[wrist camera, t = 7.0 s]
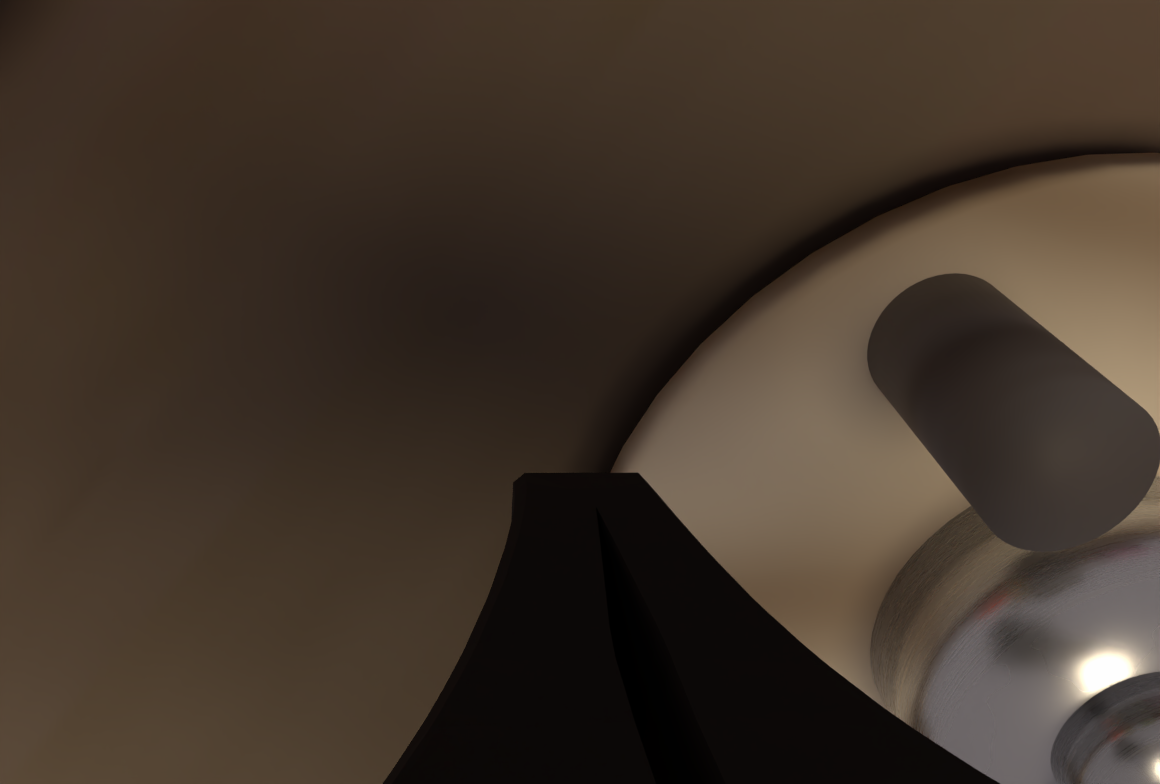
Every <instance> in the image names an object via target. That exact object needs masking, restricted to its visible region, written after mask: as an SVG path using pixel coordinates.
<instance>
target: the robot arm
mask: <svg viewBox="0 0 1160 784" xmlns="http://www.w3.org/2000/svg"><path fill="white" fill-rule="evenodd" d="M383 784H1000V783H999V782H997V781H995V780H993V779H992V778H990V777H988V776H987V775H985V774H983V773H982V772H980V771H978V770H977V769H975V768H974V767H972V766H970V765H969V764H967V763H966V762H964V761H963V760H961V759H960V758H958V757H957V756H955V755H954V754H952V753H950V752H949V751H947V750H946V749H944V748H943V747H941V746H940V745H938V744H937V743H935V742H933V741H932V740H930V739H929V738H927V737H926V736H924V735H923V734H921V733H920V732H918V731H916V730H915V729H913V728H912V727H911V726H909V725H908V724H906V723H905V722H903V721H902V720H901V719H899V718H898V717H896V716H895V715H893V714H892V713H891V712H889V711H888V710H886V709H885V708H884V707H882V706H881V705H879V704H878V703H877V702H876V701H874V700H873V699H872V698H870V697H869V696H868V695H866V694H865V693H864V692H862V691H861V690H860V689H859V688H857V687H856V686H855V685H853V684H852V683H851V682H849V681H848V680H847V679H846V678H844V677H843V676H842V675H840V674H839V673H838V672H836V671H835V670H834V669H833V668H831V667H830V666H829V665H827V664H826V663H825V662H824V661H823V660H821V659H820V658H819V657H818V656H817V655H815V654H814V653H813V652H812V651H811V650H809V649H808V648H807V647H806V646H805V645H804V644H802V643H801V642H800V641H799V640H798V639H797V638H796V637H795V636H793V635H792V634H791V633H790V632H789V631H788V630H787V629H786V628H785V627H784V626H782V625H781V624H780V623H779V622H778V621H777V620H776V619H775V618H774V617H773V616H771V615H770V614H769V613H768V612H767V611H766V610H765V609H764V608H763V607H762V606H761V605H760V604H759V603H758V602H756V601H755V600H754V599H753V598H752V597H751V596H750V595H749V594H748V593H747V592H746V591H745V589H744V588H743V587H742V586H741V585H740V584H739V583H738V582H737V581H736V580H735V579H734V578H733V577H732V576H731V575H730V574H729V573H728V572H727V571H726V570H725V569H724V568H723V567H722V566H721V565H720V564H719V563H718V562H717V561H716V559H715V558H714V557H713V556H712V555H711V554H710V553H709V552H708V551H707V550H706V549H705V548H704V546H703V545H702V544H701V543H700V542H699V541H698V540H697V539H696V538H695V536H694V535H693V534H692V533H691V532H690V531H689V530H688V529H687V527H686V526H685V525H684V524H683V523H682V522H681V521H680V519H679V518H678V517H677V516H676V515H675V514H674V513H673V511H672V510H671V509H670V508H669V507H668V506H667V504H666V503H665V502H664V501H663V500H662V499H661V497H660V496H659V495H658V494H657V493H656V492H655V490H654V489H653V488H652V487H651V486H650V485H649V484H648V482H647V481H646V480H645V479H644V478H643V477H642V476H641V475H640V474H639V473H638V472H636V473H524V474H523V475H522V476H521V477H519V478H518V479H517V480H516V481H515V482H513V500H512V522H511V526H510V530H509V534H508V538H507V542H506V546H505V549H504V552H503V555H502V558H501V561H500V564H499V567H498V570H497V573H496V576H495V578H494V581H493V584H492V587H491V590H490V592H489V595H488V597H487V600H486V602H485V605H484V607H483V609H482V611H481V613H480V616H479V618H478V620H477V622H476V625H475V627H474V629H473V631H472V633H471V636H470V638H469V640H468V642H467V644H466V647H465V649H464V651H463V653H462V655H461V657H460V659H459V661H458V663H457V665H456V666H455V668H454V670H453V672H452V674H451V676H450V678H449V680H448V681H447V683H446V685H445V687H444V689H443V690H442V692H441V694H440V696H439V697H438V699H437V701H436V702H435V704H434V706H433V708H432V709H431V711H430V713H429V714H428V716H427V718H426V719H425V721H424V723H423V724H422V726H421V727H420V729H419V730H418V732H417V733H416V735H415V737H414V738H413V740H412V741H411V743H410V744H409V746H408V747H407V749H406V750H405V752H404V753H403V755H402V756H401V758H400V759H399V761H398V762H397V764H396V765H395V767H394V768H393V770H392V771H391V773H390V774H389V776H388V777H387V778H386V780H385V781H384V783H383Z"/></svg>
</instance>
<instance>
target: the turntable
mask: <svg viewBox="0 0 1160 784" xmlns="http://www.w3.org/2000/svg"><path fill="white" fill-rule="evenodd" d="M636 472H638V473H639V474H640V475H641V476H642V477H643V478H644V479H645V480H646V481H647V482H648V484H649V485H650V486H651V487H652V488H653V489H654V490H655V492H656V493H657V494H658V495H659V496H660V497H661V499H662V500H663V501H664V502H665V503H666V504H667V506H668V507H669V508H670V509H671V510H672V511H673V513H674V514H675V515H676V516H677V517H678V518H679V519H680V521H681V522H682V523H683V524H684V525H685V526H686V527H687V529H688V530H689V531H690V532H691V533H692V534H693V535H694V536H695V538H696V539H697V540H698V541H699V542H700V543H701V544H702V545H703V546H704V548H705V549H706V550H707V551H708V552H709V553H710V554H711V555H712V556H713V557H714V558H715V559H716V561H717V562H718V563H719V564H720V565H721V566H722V567H723V568H724V569H725V570H726V571H727V572H728V573H729V574H730V575H731V576H732V577H733V578H734V579H735V580H736V581H737V582H738V583H739V584H740V585H741V586H742V587H743V588H744V589H745V591H746V592H747V593H748V594H749V595H750V596H751V597H752V598H753V599H754V600H755V601H756V602H758V603H759V604H760V605H761V606H762V607H763V608H764V609H765V610H766V611H767V612H768V613H769V614H770V615H771V616H773V617H774V618H775V619H776V620H777V621H778V622H779V623H780V624H781V625H782V626H784V627H785V628H786V629H787V630H788V631H789V632H790V633H791V634H792V635H793V636H795V637H796V638H797V639H798V640H799V641H800V642H801V643H802V644H804V645H805V646H806V647H807V648H808V649H809V650H811V651H812V652H813V653H814V654H815V655H817V656H818V657H819V658H820V659H821V660H823V661H824V662H825V663H826V664H827V665H829V666H830V667H831V668H833V669H834V670H835V671H836V672H838V673H839V674H840V675H842V676H843V677H844V678H846V679H847V680H848V681H849V682H851V683H852V684H853V685H855V686H856V687H857V688H859V689H860V690H861V691H862V692H864V693H865V694H866V695H868V696H869V697H870V698H872V699H873V700H874V701H876V702H877V703H878V704H879V705H881V706H882V707H884V708H885V709H886V707H885V705H884V703H883V701H882V699H881V697H880V695H879V692H878V690H877V688H876V686H875V683H874V679H873V675H872V670H871V662H870V645H871V637H872V630H873V626H874V623H875V619H876V616H877V612H878V610H879V608H880V605H881V603H882V601H883V599H884V596H885V594H886V592H887V591H888V589H889V587H890V586H891V584H892V582H893V581H894V579H895V577H896V576H897V574H898V573H899V571H900V570H901V569H902V568H903V566H904V565H905V564H906V562H907V561H908V560H909V559H910V557H911V556H912V555H913V554H914V553H915V552H916V551H917V550H918V549H919V548H920V547H921V546H922V544H923V543H924V542H925V541H926V540H927V539H928V538H929V537H930V536H932V535H933V534H934V533H935V532H936V531H938V530H939V529H940V528H941V527H942V526H944V525H945V524H946V523H947V522H948V521H950V520H951V519H953V518H954V517H955V516H957V515H958V514H960V513H961V512H963V511H964V510H966V509H967V508H969V507H970V506H972V507H973V509H974V510H975V511H976V512H977V514H978V515H979V516H980V517H981V519H982V520H983V521H984V522H985V524H986V525H987V526H988V528H989V529H990V530H991V531H992V532H993V533H994V534H995V535H996V536H997V537H998V538H999V539H1001V540H1002V541H1004V542H1005V543H1007V544H1009V545H1011V546H1013V547H1016V548H1020V549H1023V550H1029V551H1037V552H1048V551H1058V550H1064V549H1069V548H1072V547H1076V546H1079V545H1081V544H1084V543H1087V542H1089V541H1091V540H1093V539H1095V538H1097V537H1099V536H1101V535H1103V534H1104V533H1106V532H1108V531H1109V530H1111V529H1112V528H1114V527H1115V526H1116V525H1118V524H1119V523H1120V522H1122V521H1123V520H1124V519H1125V518H1126V517H1127V516H1128V515H1129V514H1130V513H1131V512H1132V511H1133V510H1134V509H1135V508H1136V507H1137V506H1138V505H1139V503H1140V502H1141V501H1142V500H1143V498H1144V497H1145V496H1146V494H1147V492H1148V491H1149V489H1150V487H1151V486H1152V483H1153V481H1154V479H1155V477H1156V476H1159V477H1160V153H1125V154H1093V155H1082V156H1076V157H1070V158H1064V159H1058V160H1052V161H1046V162H1040V163H1034V164H1027V165H1021V166H1016V167H1012V168H1009V169H1006V170H1002V171H999V172H995V173H992V174H989V175H985V176H982V177H978V178H975V179H972V180H968V181H965V182H961V183H958V184H954V185H951V186H948V187H945V188H942V189H940V190H938V191H935V192H933V193H931V194H928V195H926V196H924V197H921V198H919V199H916V200H914V201H912V202H909V203H907V204H905V205H902V206H900V207H898V208H895V209H893V210H891V211H888V212H886V213H884V214H881V215H879V216H877V217H875V218H873V219H871V220H870V221H868V222H866V223H864V224H862V225H861V226H859V227H857V228H855V229H854V230H852V231H850V232H848V233H847V234H845V235H843V236H841V237H840V238H838V239H836V240H834V241H832V242H831V243H829V244H827V245H825V246H824V247H822V248H820V249H818V250H817V251H815V252H813V253H811V254H810V255H809V256H807V257H806V258H805V259H803V260H802V261H800V262H799V263H798V264H796V265H795V266H794V267H792V268H791V269H789V270H788V271H787V272H785V273H784V274H783V275H781V276H780V277H778V278H777V279H776V280H774V281H773V282H772V283H770V284H769V285H767V286H766V287H765V288H763V289H762V290H761V291H759V292H758V293H756V294H755V295H754V296H752V297H751V298H750V299H749V300H748V301H747V302H746V303H745V304H744V305H743V306H742V307H740V308H739V309H738V310H737V311H736V312H735V313H734V314H733V315H732V316H731V317H730V318H728V319H727V320H726V321H725V322H724V323H723V324H722V325H721V326H720V327H719V328H718V329H716V330H715V331H714V332H713V333H712V334H711V335H710V336H709V337H708V338H707V339H706V340H704V341H703V342H702V343H701V344H700V345H699V347H698V348H697V349H696V350H695V351H694V352H693V354H692V355H691V356H690V357H689V358H688V359H687V361H686V362H685V363H684V364H683V365H682V366H681V368H680V369H679V370H678V371H677V372H676V373H675V375H674V376H673V377H672V378H671V379H670V380H669V382H668V383H667V384H666V385H665V386H664V387H663V388H662V390H661V391H660V392H659V393H658V394H657V396H656V397H655V399H654V400H653V402H652V403H651V405H650V406H649V408H648V409H647V411H646V412H645V414H644V415H643V417H642V418H641V420H640V421H639V423H638V424H637V426H636V427H635V429H634V430H633V432H632V433H631V435H630V436H629V438H628V439H627V441H626V442H625V444H624V445H623V447H622V449H621V451H620V453H619V455H618V457H617V459H616V461H615V463H614V466H613V468H612V470H611V472H610V473H636ZM886 710H887V709H886Z"/></svg>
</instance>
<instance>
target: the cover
mask: <svg viewBox="0 0 1160 784" xmlns="http://www.w3.org/2000/svg"><path fill="white" fill-rule="evenodd" d="M870 662H871V670H872V675H873V679H874V683H875V686H876V688H877V690H878V692H879V695H880V697H881V699H882V701H883V703H884V705H885V707H886V709H887V710H888V711H889V712H891V713H892V714H893V715H895V716H896V717H898V718H899V719H901V720H902V721H903V722H905V723H906V724H908V725H909V726H911V727H912V728H913V729H915V730H916V731H918V732H920V733H921V734H923V735H924V736H926V737H927V738H929V739H930V740H932V741H933V742H935V743H937V744H938V745H940V746H941V747H943V748H944V749H946V750H947V751H949V752H950V753H952V754H954V755H955V756H957V757H958V758H960V759H961V760H963V761H964V762H966V763H967V764H969V765H970V766H972V767H974V768H975V769H977V770H978V771H980V772H982V773H983V774H985V775H987V776H988V777H990V778H992V779H993V780H995V781H997V782H999V783H1000V784H1160V477H1159V476H1156V477H1155V479H1154V481H1153V483H1152V486H1151V487H1150V489H1149V491H1148V492H1147V494H1146V496H1145V497H1144V498H1143V500H1142V501H1141V502H1140V503H1139V505H1138V506H1137V507H1136V508H1135V509H1134V510H1133V511H1132V512H1131V513H1130V514H1129V515H1128V516H1127V517H1126V518H1125V519H1124V520H1123V521H1122V522H1120V523H1119V524H1118V525H1116V526H1115V527H1114V528H1112V529H1111V530H1109V531H1108V532H1106V533H1104V534H1103V535H1101V536H1099V537H1097V538H1095V539H1093V540H1091V541H1089V542H1087V543H1084V544H1081V545H1079V546H1076V547H1072V548H1069V549H1064V550H1058V551H1048V552H1037V551H1029V550H1023V549H1020V548H1016V547H1013V546H1011V545H1009V544H1007V543H1005V542H1004V541H1002V540H1001V539H999V538H998V537H997V536H996V535H995V534H994V533H993V532H992V531H991V530H990V529H989V528H988V526H987V525H986V524H985V522H984V521H983V520H982V519H981V517H980V516H979V515H978V514H977V512H976V511H975V510H974V509H973V507H972V506H970V507H969V508H967V509H966V510H964V511H963V512H961V513H960V514H958V515H957V516H955V517H954V518H953V519H951V520H950V521H948V522H947V523H946V524H945V525H944V526H942V527H941V528H940V529H939V530H938V531H936V532H935V533H934V534H933V535H932V536H930V537H929V538H928V539H927V540H926V541H925V542H924V543H923V544H922V546H921V547H920V548H919V549H918V550H917V551H916V552H915V553H914V554H913V555H912V556H911V557H910V559H909V560H908V561H907V562H906V564H905V565H904V566H903V568H902V569H901V570H900V571H899V573H898V574H897V576H896V577H895V579H894V581H893V582H892V584H891V586H890V587H889V589H888V591H887V592H886V594H885V596H884V599H883V601H882V603H881V605H880V608H879V610H878V612H877V616H876V619H875V623H874V626H873V630H872V637H871V645H870Z"/></svg>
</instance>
